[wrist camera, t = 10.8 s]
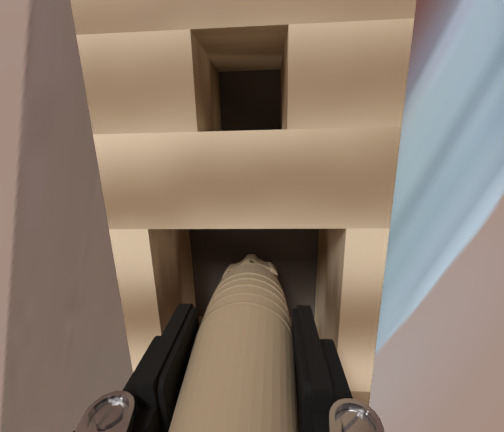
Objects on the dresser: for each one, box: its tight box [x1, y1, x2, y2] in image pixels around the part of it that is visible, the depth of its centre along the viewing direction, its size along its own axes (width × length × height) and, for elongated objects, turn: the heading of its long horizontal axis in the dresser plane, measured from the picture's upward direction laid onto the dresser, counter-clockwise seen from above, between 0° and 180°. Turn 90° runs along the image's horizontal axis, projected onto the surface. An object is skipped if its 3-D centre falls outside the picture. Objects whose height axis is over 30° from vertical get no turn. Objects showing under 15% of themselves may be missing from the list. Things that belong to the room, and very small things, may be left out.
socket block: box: [71, 0, 416, 406], centre depth 14 cm, size 20×12×6 cm, turn 1°
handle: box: [168, 254, 298, 432], centre depth 9 cm, size 5×6×15 cm
